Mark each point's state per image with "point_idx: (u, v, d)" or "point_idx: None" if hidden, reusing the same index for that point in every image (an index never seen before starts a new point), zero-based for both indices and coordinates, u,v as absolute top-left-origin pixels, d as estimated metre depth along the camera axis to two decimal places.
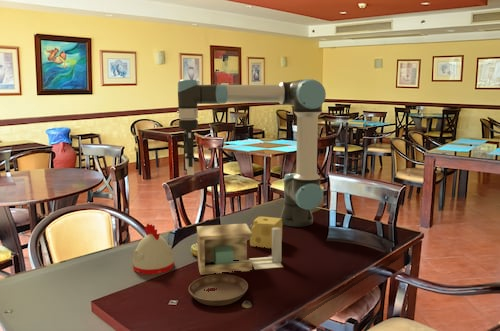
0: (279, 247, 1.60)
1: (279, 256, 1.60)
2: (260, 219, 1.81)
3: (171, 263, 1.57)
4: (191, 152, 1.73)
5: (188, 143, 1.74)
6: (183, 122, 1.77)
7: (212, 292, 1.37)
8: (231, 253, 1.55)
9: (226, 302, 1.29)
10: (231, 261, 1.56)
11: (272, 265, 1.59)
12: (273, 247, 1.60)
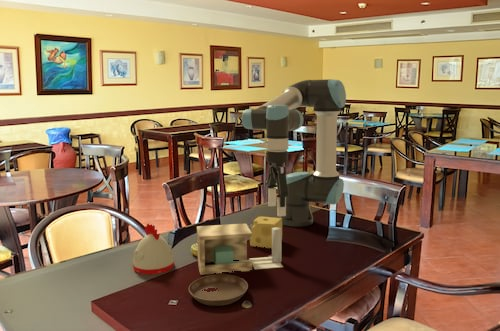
0: (279, 247, 1.60)
1: (279, 256, 1.60)
2: (260, 219, 1.81)
3: (171, 263, 1.57)
4: (285, 190, 1.48)
5: (281, 179, 1.49)
6: (273, 154, 1.52)
7: (212, 292, 1.37)
8: (231, 253, 1.55)
9: (226, 302, 1.29)
10: (231, 261, 1.56)
11: (272, 265, 1.59)
12: (273, 247, 1.60)
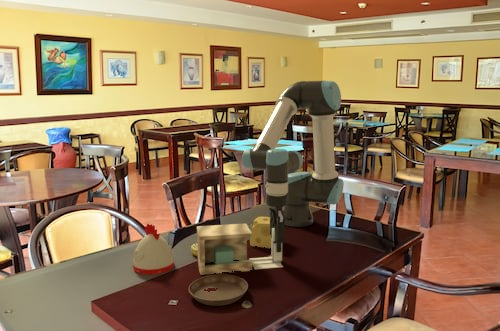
0: None
1: None
2: (260, 219, 1.81)
3: (171, 263, 1.57)
4: (281, 238, 1.55)
5: (279, 228, 1.54)
6: (273, 199, 1.55)
7: (212, 292, 1.37)
8: (231, 253, 1.55)
9: (226, 302, 1.29)
10: (231, 261, 1.56)
11: (272, 265, 1.59)
12: (273, 247, 1.60)
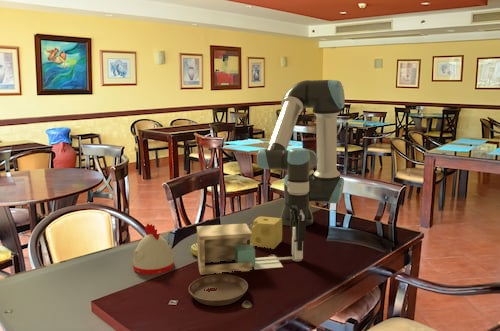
0: None
1: None
2: (260, 219, 1.81)
3: (171, 263, 1.57)
4: (303, 237, 1.56)
5: (300, 227, 1.55)
6: (294, 197, 1.56)
7: (212, 292, 1.37)
8: (253, 251, 1.56)
9: (226, 302, 1.29)
10: (253, 259, 1.57)
11: (272, 265, 1.59)
12: (294, 246, 1.61)
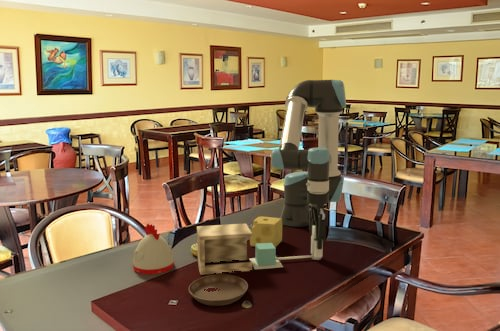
0: None
1: None
2: (260, 219, 1.81)
3: (171, 263, 1.57)
4: (323, 235, 1.58)
5: (321, 226, 1.57)
6: (315, 196, 1.57)
7: (212, 292, 1.37)
8: (273, 250, 1.58)
9: (226, 302, 1.29)
10: (273, 258, 1.58)
11: (272, 265, 1.59)
12: (313, 244, 1.63)
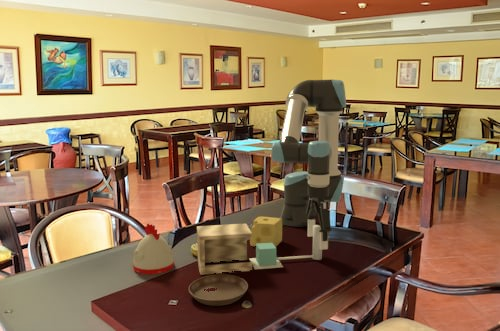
0: None
1: (320, 253, 1.63)
2: (260, 219, 1.81)
3: (171, 263, 1.57)
4: (328, 226, 1.53)
5: (323, 215, 1.54)
6: (315, 190, 1.57)
7: (212, 292, 1.37)
8: (274, 250, 1.58)
9: (226, 302, 1.29)
10: (274, 258, 1.58)
11: (272, 265, 1.59)
12: (314, 244, 1.63)
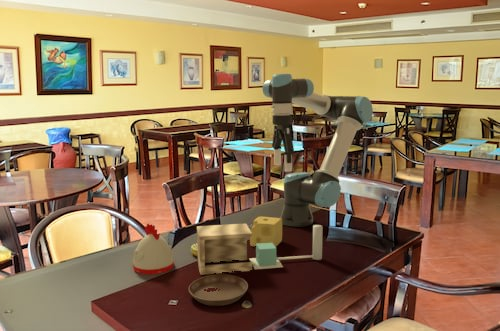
0: (320, 244, 1.62)
1: (320, 253, 1.63)
2: (260, 219, 1.81)
3: (171, 263, 1.57)
4: (291, 148, 1.69)
5: (287, 139, 1.70)
6: (279, 117, 1.73)
7: (212, 292, 1.37)
8: (274, 250, 1.58)
9: (226, 302, 1.29)
10: (274, 258, 1.58)
11: (272, 265, 1.59)
12: (314, 244, 1.63)
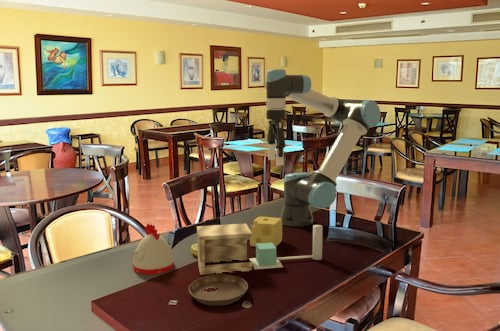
0: (320, 244, 1.62)
1: (320, 253, 1.63)
2: (260, 219, 1.81)
3: (171, 263, 1.57)
4: (282, 142, 1.72)
5: (279, 133, 1.73)
6: (272, 112, 1.76)
7: (212, 292, 1.37)
8: (274, 250, 1.58)
9: (226, 302, 1.29)
10: (274, 258, 1.58)
11: (272, 265, 1.59)
12: (314, 244, 1.63)
